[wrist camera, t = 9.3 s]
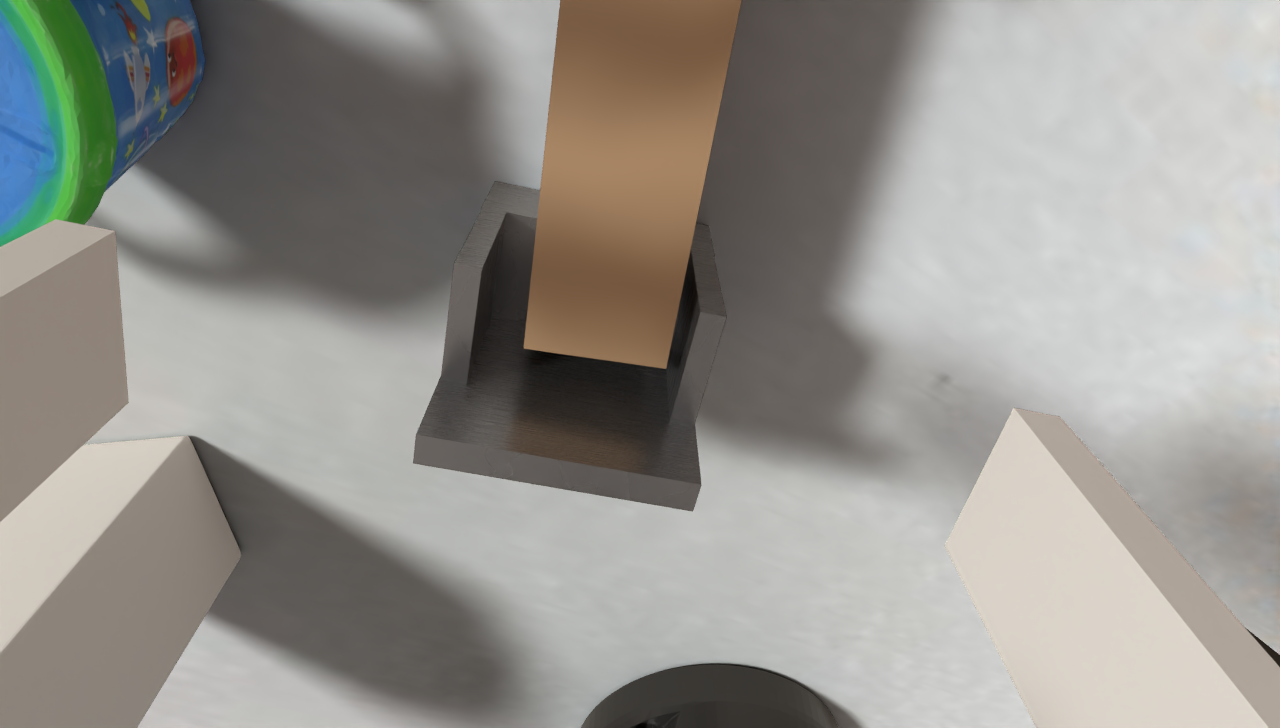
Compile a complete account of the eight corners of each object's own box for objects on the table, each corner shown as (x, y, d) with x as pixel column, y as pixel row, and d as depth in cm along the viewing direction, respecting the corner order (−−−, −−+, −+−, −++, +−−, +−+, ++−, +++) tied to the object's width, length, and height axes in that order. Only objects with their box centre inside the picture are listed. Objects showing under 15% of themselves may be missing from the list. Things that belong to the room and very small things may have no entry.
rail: (662, 307, 30) (666, 368, 26) (539, 289, 29) (523, 348, 26) (794, -369, 21) (830, -432, 17) (616, -406, 20) (611, -481, 16)
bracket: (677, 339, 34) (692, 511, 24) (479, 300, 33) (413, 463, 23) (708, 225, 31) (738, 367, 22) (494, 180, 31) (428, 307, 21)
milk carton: (102, 565, 40) (-279, 1036, 23) (35, 445, 36) (-469, 897, 20) (244, 554, 40) (-40, 1023, 23) (190, 431, 36) (-190, 879, 20)
